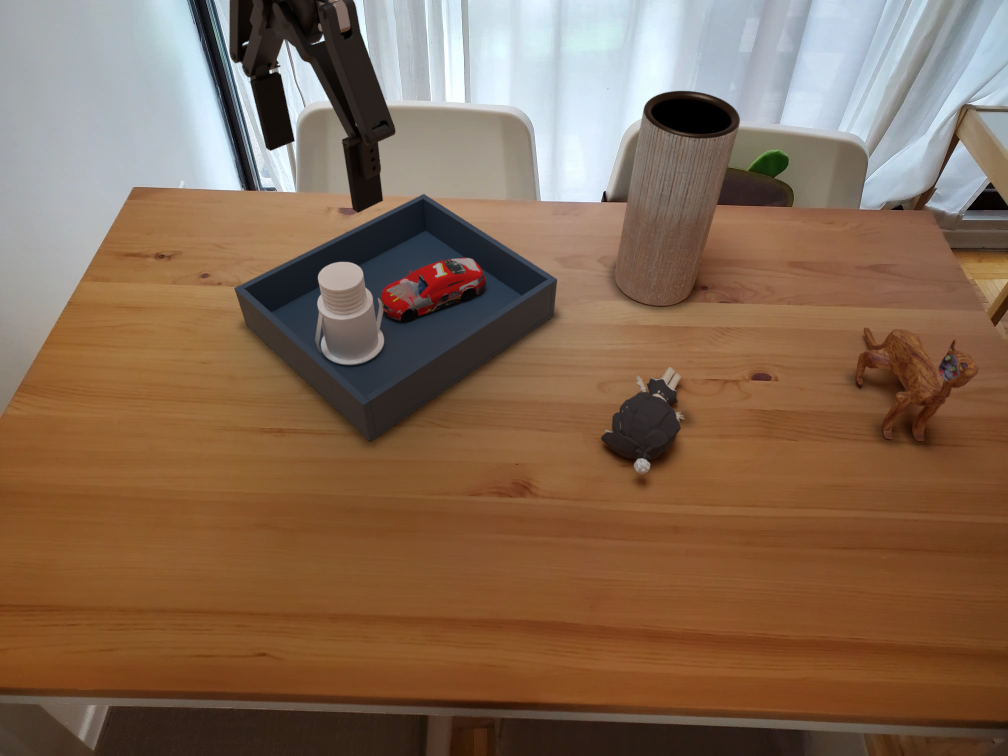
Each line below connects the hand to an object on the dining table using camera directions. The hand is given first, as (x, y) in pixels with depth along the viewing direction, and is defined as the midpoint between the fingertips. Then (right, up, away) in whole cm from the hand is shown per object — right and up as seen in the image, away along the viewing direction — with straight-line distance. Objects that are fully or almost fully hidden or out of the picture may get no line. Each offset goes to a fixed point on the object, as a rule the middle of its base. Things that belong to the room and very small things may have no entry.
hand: (322, 173), depth 65 cm
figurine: (+31, -24, +10) cm, 41 cm away
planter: (+36, -6, +26) cm, 45 cm away
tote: (+4, -12, +20) cm, 24 cm away
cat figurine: (+59, -20, +14) cm, 64 cm away
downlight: (-1, -15, +16) cm, 22 cm away
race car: (+8, -9, +22) cm, 25 cm away
